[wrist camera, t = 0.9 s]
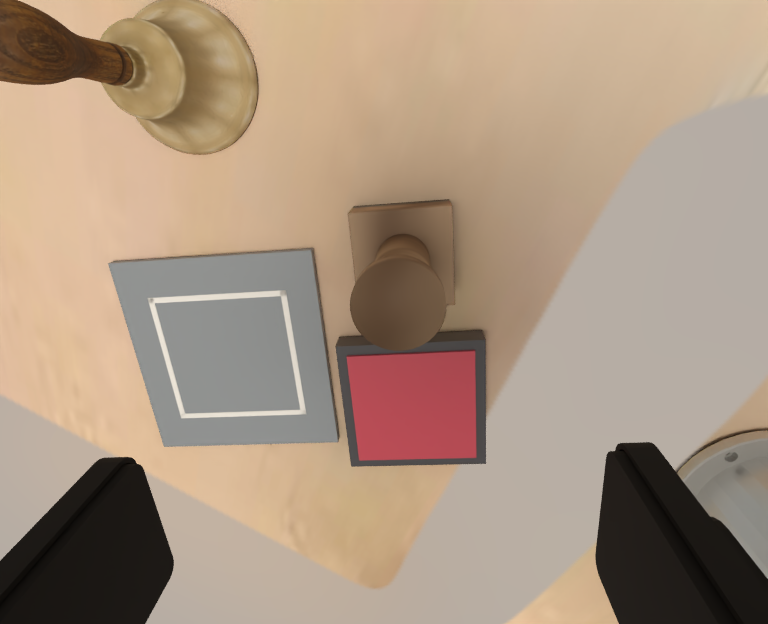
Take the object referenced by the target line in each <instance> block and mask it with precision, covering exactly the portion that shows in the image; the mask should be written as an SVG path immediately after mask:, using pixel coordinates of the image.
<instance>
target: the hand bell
mask: <svg viewBox="0 0 768 624" xmlns="http://www.w3.org/2000/svg"><path fill="white" fill-rule="evenodd" d="M72 78H85V79H90V80H94V81H98V82H101V83H102V85H103V87H104V89H105V91H106V92H107V94H108V96H109V97H110V98H111V99H112V100H113V101H114V102H115V104H116V105H117V106H118V107H120V108H121V109H122V110H123V111H125V112H126V113H128V114H130V115H132V116H135V117H136V119H137V120H138V121H139V122H140V124H141V125H142V126H143V127H144V128H145V129H146V131H148V132H149V133H150V134H151V135H152V136H153V137H154V138H155V139H157V140H158V141H160V142H161V143H163V144H164V145H166V146H168V147H170V148H172V149H174V150H177V151H180V152H183V153H188V154H199V155H201V154H210V153H214V152H217V151H220V150H222V149H225V148H227V147H228V146H230V145H231V144H233V143H234V142H235V141H236V140H237V139H238V138H239V137H240V136H241V135H242V134H243V133H244V131H245V130H246V128H247V127H248V125H249V123H250V121H251V119H252V117H253V114H254V111H255V108H256V103H257V95H258V83H257V75H256V68H255V64H254V61H253V57H252V54H251V52H250V50H249V48H248V45H247V43H246V42H245V40H244V38H243V36H242V35H241V34H240V32H239V31H238V29H237V28H236V27H235V26H234V25H233V24H232V23H231V22H230V21H229V20H228V18H227V17H226V16H224V15H223V14H222V13H221V12H219V11H218V10H217V9H215V8H213V7H211V6H210V5H208V4H206V3H203V2H201V1H198V0H157V1H155V2H153V3H151V4H149V5H148V6H146V7H145V8H143V9H142V10H141V11H140V12H139V13H137V15H136V16H135V17H134V18H127V19H123V20H120V21H117V22H116V23H114V24H112V25H111V26H110V27H109V28H108V29H107V30H106V31H105V32H104V34H103V35H102V37H101V39H100V41H99V40H94V39H89V38H85V37H81V36H78V35H76V34H74V33H73V32H71V31H70V30H68V29H67V28H66V27H65V26H63V25H62V24H61V23H60V22H58V21H57V20H55V19H54V18H52V17H51V16H49V15H48V14H46V13H44V12H42V11H40V10H38V9H36V8H34V7H32V6H30V5H27V4H25V3H23V2H21V1H18V0H0V81H5V82H11V83H19V84H31V85H45V84H54V83H59V82H63V81H66V80H69V79H72Z"/></svg>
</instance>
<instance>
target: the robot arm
mask: <svg viewBox="0 0 768 624" xmlns="http://www.w3.org/2000/svg"><path fill="white" fill-rule="evenodd" d="M596 565H597V570H598V574H599V576H600V579H601V582H602V584H603V586H604V589H605V591H606V594H607V596H608V598H609V601H610V603H611V606H612V608H613V610H614V613H615V615H616V618H617V620H618V622H619V624H768V431H755V432H750V433H744V434H739V435H736V436H733V437H730V438H727V439H724V440H721V441H719V442H717V443H715V444H713V445H711V446H709V447H707V448H705V449H704V450H702V451H701V452H699V453H698V454H696V455H695V456H693V457H692V458H691V459H690V460H689V461H688V462H687V463H686V464H685V465H683V466H682V467H681V468H680V470H679V471H678V472H677V473H676V472H675V470H674V469H673V468H672V466H671V465H670V464H669V462H668V461H667V460H666V459H665V457H664V456H663V455H662V453H661V452H660V451H659V449H658V448H657V447H656V446H655V445H654V444H653V443H649V442H646V443H620V444H618V445H617V447H616V450H615V451H613V452H612V451H610V452H608V454H607V457H606V465H605V474H604V483H603V492H602V502H601V510H600V519H599V529H598V537H597V546H596ZM173 566H174V560H173V556H172V553H171V550H170V547H169V544H168V541H167V538H166V535H165V532H164V529H163V526H162V523H161V520H160V517H159V514H158V511H157V508H156V505H155V502H154V499H153V496H152V493H151V490H150V487H149V484H148V481H147V478H146V475H145V472H144V469H143V467H142V466H141V465H139V464H137V463H136V461H135V460H134V459H133V458H130V457H114V458H102V459H99V460H98V461H97V462H96V463H94V464H93V465H92V467H91V468H90V469H89V470H88V471H87V472H86V473H85V474H84V475H83V476H82V477H81V478H80V479H79V480H78V481H77V482H76V483H75V484H74V485H73V486H72V487H71V488H70V489H69V490H68V491H67V492H66V494H65V495H64V496H63V497H62V498H61V499H60V500H59V501H58V502H57V503H56V504H55V505H54V506H53V507H52V508H51V509H50V510H49V511H48V512H47V513H46V514H45V515H44V516H43V517H42V518H41V519H40V520H39V521H38V522H37V523H36V524H35V525H34V527H33V528H32V529H31V530H30V531H29V532H28V533H27V534H26V535H25V536H24V537H23V538H22V539H21V540H20V541H19V542H18V543H17V544H16V545H15V546H14V547H13V548H12V549H11V550H10V551H9V552H8V553H7V554H6V555H5V557H3V559H2V560H1V561H0V624H145V623H146V621H147V619H148V618H149V616H150V614H151V612H152V610H153V608H154V607H155V605H156V603H157V601H158V599H159V597H160V595H161V594H162V592H163V590H164V588H165V587H166V585H167V583H168V581H169V579H170V577H171V575H172V571H173Z"/></svg>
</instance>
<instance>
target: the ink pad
mask: <svg viewBox="0 0 768 624" xmlns="http://www.w3.org/2000/svg"><path fill="white" fill-rule="evenodd" d="M336 353H337V361H338V369H339V376H340V384H341V391H342V399H343V407H344V414H345V422H346V429H347V437H348V445H349V452H350V460H351V467H352V466H397V465H443V464H486V351H485V337H484V334H483V331H482V330H475V331H454V332H437V333H436V335H435V336H434V337H433V338H432V339H430V340H429V341H428V342H426V343H425V344H423V345H421V346H419V347H417V348H414V349H410V350H404V351H394V350H388V349H384V348H381V347H378V346H376V345H374V344H372V343H371V342H370V341H368V340H367V339H366V338H365V337H364V336H349V337H339V339H338V342H337V344H336Z"/></svg>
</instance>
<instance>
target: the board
mask: <svg viewBox="0 0 768 624" xmlns="http://www.w3.org/2000/svg"><path fill="white" fill-rule="evenodd" d="M108 264H109V268H110V271H111V274H112V277H113V281H114V284H115V287H116V291H117V294H118V297H119V300H120V304H121V307H122V310H123V314H124V317H125V320H126V323H127V327H128V330H129V333H130V337H131V340H132V343H133V346H134V350H135V353H136V356H137V359H138V363H139V366H140V369H141V373H142V376H143V379H144V382H145V386H146V389H147V392H148V396H149V399H150V402H151V405H152V409H153V412H154V415H155V419H156V422H157V425H158V428H159V432H160V435H161V438H162V442H163V445H164V447H173V446H210V445H248V444H285V443H322V442H338V440H339V431H338V424H337V417H336V410H335V403H334V395H333V388H332V381H331V374H330V367H329V359H328V352H327V345H326V338H325V331H324V324H323V316H322V309H321V302H320V295H319V288H318V280H317V273H316V266H315V259H314V252H313V248H306V249H291V250H276V251H261V252H246V253H231V254H216V255H200V256H185V257H170V258H155V259H140V260H125V261H113V262H111V263H108Z"/></svg>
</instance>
